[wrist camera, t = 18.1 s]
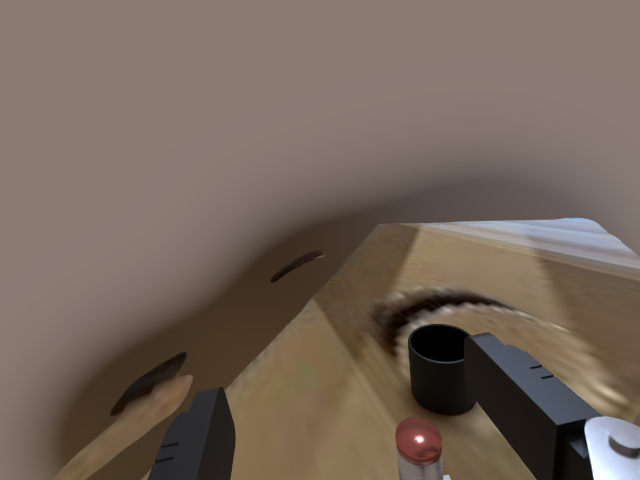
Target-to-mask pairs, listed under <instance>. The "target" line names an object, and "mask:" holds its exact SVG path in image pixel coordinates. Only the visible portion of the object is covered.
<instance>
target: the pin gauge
mask: <svg viewBox="0 0 640 480" xmlns="http://www.w3.org/2000/svg"><path fill="white" fill-rule="evenodd" d="M395 435H396V446H397V456H398V467H399V478H400V480H443V462H442V438H441V434H440V432H439V430H438V429H437V427H436V426H435V425H434V424H432V423H431V422H429V421H427V420H425V419H422V418H408V419H405V420H403V421H402V422H401V423H400V424H399V425H398V426H397V428H396V433H395Z"/></svg>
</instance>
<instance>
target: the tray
mask: <svg viewBox="0 0 640 480" xmlns="http://www.w3.org/2000/svg"><path fill="white" fill-rule="evenodd" d="M443 480H451V479H450V477H449V475H445V476H443Z"/></svg>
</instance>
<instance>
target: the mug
mask: <svg viewBox="0 0 640 480" xmlns="http://www.w3.org/2000/svg"><path fill="white" fill-rule="evenodd" d="M468 336H471V335H470V334H469V333H467V332H466V331H464V330H462V329H460V328H458V327H455V326H451V325H445V324H430V325H425V326H422V327H419V328H417V329H416V330H414V331H413V332H412V333H411V334H410V336H409V338H408V349H409V362H410V375H411V388H412V392H413V395H414V397H415V398H416V399H417V401H418V402H419V403H420V404H421V405H422V406H424V407H425V408H427V409H429V410H430V411H433V412H436V413H439V414H444V415H456V414H461V413H463V412H466V411H467V410H469V409H470V408H471V407H472V406H473V405H474V403H475V402H476V400H475V398H474V397H473V396H472V394H471V393H470V391H469V389H468V387H467V384H466V381H465V376H464V339H465V337H468Z"/></svg>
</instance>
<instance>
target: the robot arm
mask: <svg viewBox="0 0 640 480" xmlns="http://www.w3.org/2000/svg"><path fill="white" fill-rule="evenodd" d="M464 376H465V381H466V384H467V387H468V389H469V391H470V393H471V394H472V396H473V397H474V398H475V400H476V401H477V402H478V404H479V405H480V406H481V407H482V409H483V410H484V411H485V413H486V414H487V415H488V417H489V418H490V419H491V420H492V422H493V423H494V424H495V426H496V427H497V428H498V430H499V431H500V432H501V433H502V435H503V436H504V437H505V439H506V440H507V441H508V443H509V444H510V445H511V447H512V448H513V449H514V450H515V452H516V453H517V454H518V456H519V457H520V458H521V460H522V461H523V462H524V463H525V465H526V466H527V467H528V469H529V470H530V471H531V473H532V474H533V475H534V476H535V478H536V479H537V480H640V427H638V426H636V425H634V424H632V423H629V422H627V421H624V420H621V419H617V418H612V417H603V416H602V415H601V414H599V413H598V412H597V411H596V410H595V409H593V408H592V407H591V406H590V405H589V404H588V403H586V402H585V401H584V400H583V399H582V398H580V397H579V396H578V395H577V394H576V393H574V392H573V391H572V390H571V389H570V388H569V387H567V386H566V385H565V384H564V383H563V382H561V381H560V380H559V379H558V378H557V377H554V376H553V374H552V373H551V372H549V371H548V370H547V369H546V368H545V367H542V365H541V364H540V363H539V362H538V361H536V360H535V359H534V358H533V357H532V356H530V355H529V354H528V353H526V352H524V351H522V350H520V349H518V348H516V347H514V346H512V345H506V346H505V345H504V344H503V343H501V342H500V341H499V340H498V339H497V338H496V337H495V336H494V335H492V334H491V333H482V334H477V335H473V336H468V337H465V339H464ZM235 440H236V438H235V426H234V422H233V419H232V415H231V412H230V408H229V405H228V401H227V398H226V395H225V391H224V389H223V388H222V387H217V388H212V389H207V390H202V391H198V392H197V393H196V394H195V397H194V400H193V403H192V406H191V409H190V411H188V412H183V413H180V414H179V415H178V416H177V418H176V419H175V420H174V422H173V423H172V424H171V425H170V427H169V428H168V429H167V432H166V434H165V437H164V439H163V442H162V444H161V449H160V450H159V452H158V454H157V457H156V459H155V464H154V465H153V467H152V469H151V472H150V475H149V477H148V480H230V478H231V471H232V464H233V457H234V451H235Z"/></svg>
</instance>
